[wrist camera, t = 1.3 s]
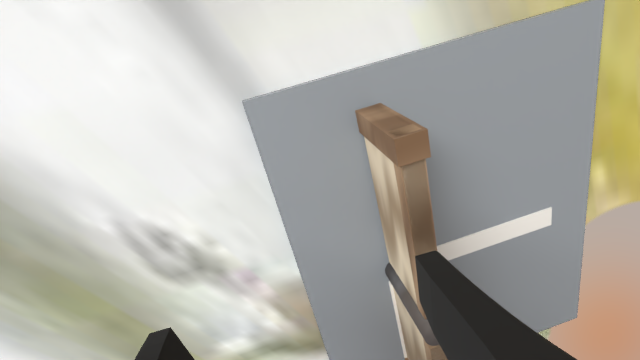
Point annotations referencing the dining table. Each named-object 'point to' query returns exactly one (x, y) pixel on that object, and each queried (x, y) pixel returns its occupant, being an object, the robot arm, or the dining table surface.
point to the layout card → (444, 173)
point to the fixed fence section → (413, 324)
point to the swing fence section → (400, 188)
